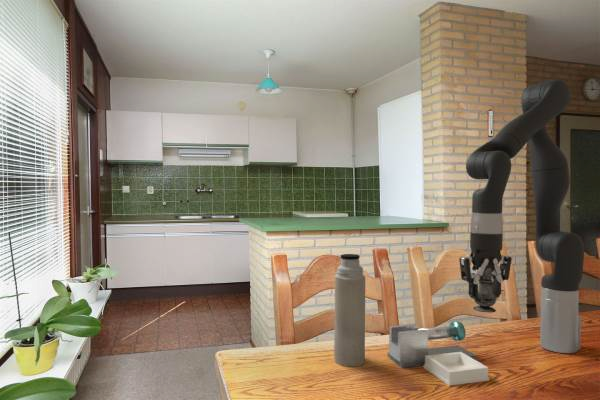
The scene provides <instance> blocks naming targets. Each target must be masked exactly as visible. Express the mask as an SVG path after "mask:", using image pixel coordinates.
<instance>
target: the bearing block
mask: <svg viewBox="0 0 600 400" xmlns="http://www.w3.org/2000/svg"><path fill="white" fill-rule="evenodd" d="M388 328H389V334H388V335H389V341H388V343H389V344H388V345H389V346H388V347H389V348H388V349H389V351H388V352H387V358H389V359H390V360H392V362H394V363H395V364H396V365H398V366H399V367H400V368H402V369H405V368H413V367H421V366H423V365H425V356H427V355H436V354H445V353H454V352H462V353H464V354H466V355H467V356H469V357H471V358H473V359H474V360H477V359H478V358H477V354H475V353H473V352H472V351H469V350H468V349H466V348H465V347H462V346H461V345H459V344H457V345H449V346H448V345H447V346H438V347H430V348H429V340H428V330H426V329H424V328H422V329H423V330H417V329H420V328H419V324H417V323H411V324H400V325H390V326H389V327H388Z"/></svg>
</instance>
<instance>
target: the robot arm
mask: <svg viewBox="0 0 600 400" xmlns="http://www.w3.org/2000/svg"><path fill="white" fill-rule="evenodd" d="M521 93H522V94H521V99H520V101H521V102H520V104H521V110H522V113H521V114H519V115H518V116H517V117H515V118H514V119H512V120H510V121H509V122H507V124H506V125H504V126H503V127H502V128H501V129H500V131H498V133H497V134H496V135H495V136H494V137H493V138H492V139H490V140H489V141H487V142H485V143H484V144H483V145H481V146H479V147H478V148H477V149H475V150H474V151H473V152H471V154H470V155H469V156H468V157H467V160H466V164H465V171H466V173H467V175H468V176H469V177H470V178H472V179H474V180H481V181H482V180H483V181H484V180H487V183H486V185H485V187H483V188H478V189H476V190H474V191H473V193H472V197H471V198H472V201H471V218H470V227H469V228H470V229H469V230H470V235H469V238H470V239H469V248H470V250H471V252H470V254H469V256H460V257H458V258H459V271H460V276H461V280H462V281H465V282H467V283H468V293H467V294H468V296H469V297H470V299H473V300H474V299H477V298H478V289H479V281H478V280H479V278H480V276H482V274H483V272H485V270H486V269H487V268H490V269H492V281H493V282H492V293H493V294H494V295H496V296H497V297H498V298H500V297H501V294H502V283H503V281H508V280H509V277H510V273H511V272H510V271H511V267H512V266H511V265H512V260H513V259H512V257H511V256H507V255H503V254H501V251H502V250H503V243H504V242H503V235H504V221H503V199H504V198H503V197H504V194H505V192H506V191H505V190H506V188H507V184H508V181H509V178H510V175H511V171H512V160H511V159H513V158H515V157H516V156H517V154H519V152H520V151H521V150H522V149H523V148H524V146H525V145H526V144H527V143H528V149H529V155H530V156H529V157H530V158H529V159H530V170H531V171H530V173H531V180H532V181H531V182H532V187H533V199H534V212H535V231H534V232H535V235H534V237H535V238H534V239H535V250H536V253H537V255H538V257H539V259H542V261H545V262H548V263H553V271H552V272H551V273H550V274H545V275H543V276H541V284H540V287H541V288H540V289H541V290H540V293H541V294H540V332H539V333H540V335H539V337H540V338H539V339H540V341H539V342H540V343H539V344H540V346H541V347H542V348H543V349H545V350H547V351H551V352H555V353H560V354H575V353H577V352H578V351H580V350H581V338H582V337H581V335H582V334H581V332H582V331H581V329H582V326H581V325H582V317H581V315H579V302H580V301H579V295H580V293H579V290H580V283H581V282H582V279H583V272H584V262H585V261H584V260H585V244H584V242H583V239H582V237H581V236H580V235H578V234H576V233H574V232H569V231H561V227H560V210H561V206H562V204H563V202H564V200H565V199H566V196H567V194H568V191H569V189H570V181H571V180H570V170H569V169H570V167H569V162H568V159H567V156H566V155H565V154H564V152H563V151H562V150H561V148H559V146H558V145H557V144H556V142H555V141H554V140H553V139H552V138H551V136H550V134H549V132H548V130H547V126H546V125H547V124H549V123H550V122H551V121H553V119H555V118H556V117H557V116H559V115H560V114H561V113H563V112H564V111H565V110H566V109H567V108H568V106H569V105H570V102H571V97H572V95H571V89H570V87H569V85H568V83H567V82H566V81H564V80H562V79H551V80H546V81H543V82H540V83H534V84H531V85H529V86H528V85H527V86H526V87H525V88H523V91H522V92H521Z"/></svg>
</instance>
